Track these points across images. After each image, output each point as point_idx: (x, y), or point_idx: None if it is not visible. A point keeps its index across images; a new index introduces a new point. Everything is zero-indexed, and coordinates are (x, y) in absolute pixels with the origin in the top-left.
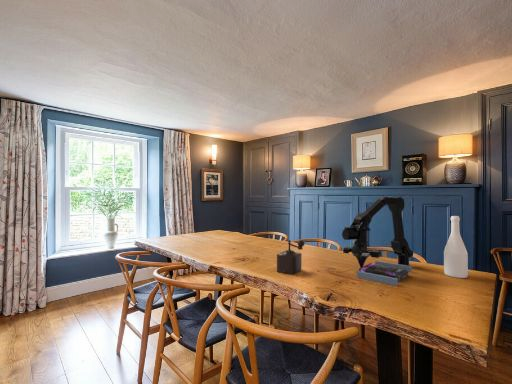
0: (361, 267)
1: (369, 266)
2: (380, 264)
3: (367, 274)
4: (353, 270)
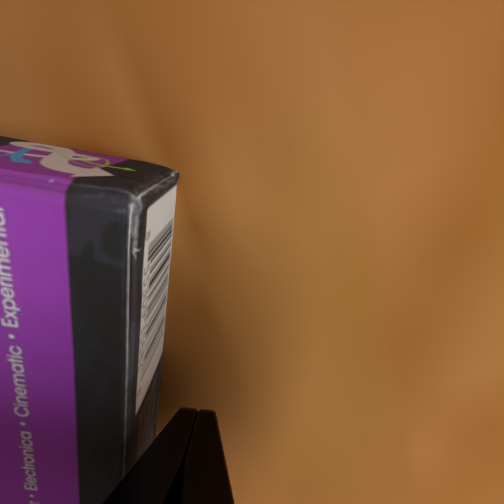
0: (117, 322)
1: (3, 472)
2: None
3: None
4: (343, 287)
